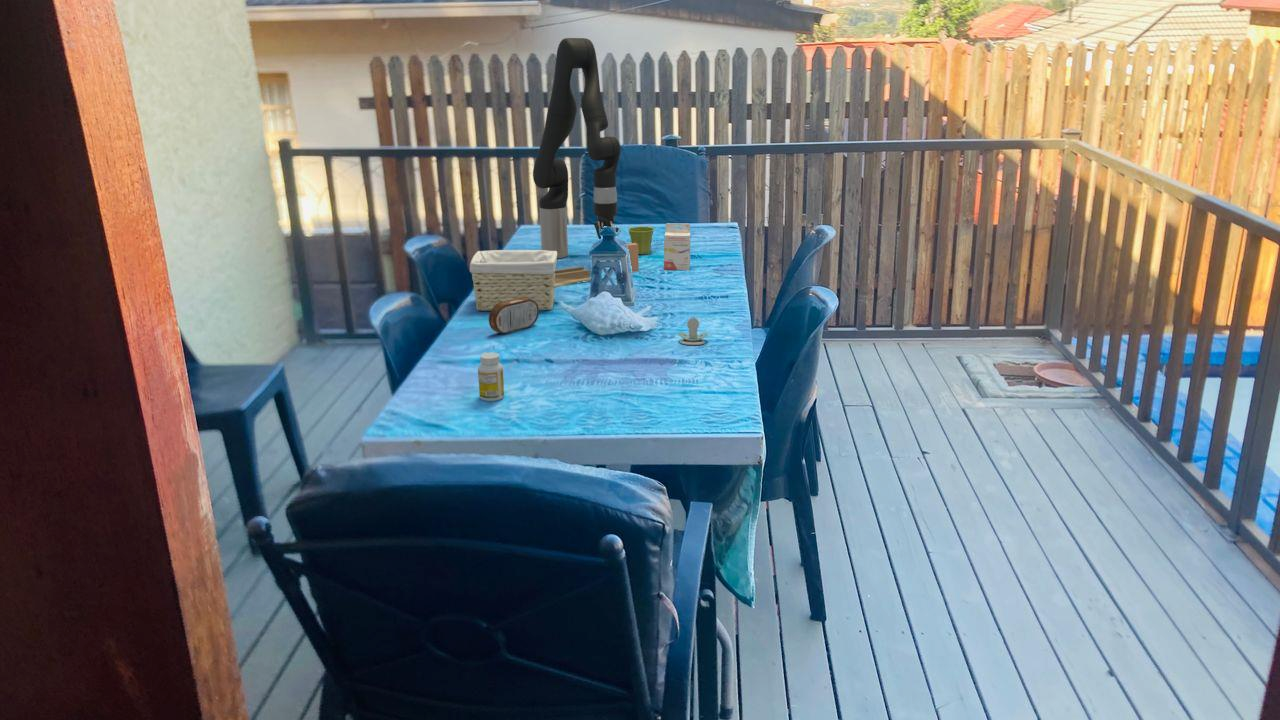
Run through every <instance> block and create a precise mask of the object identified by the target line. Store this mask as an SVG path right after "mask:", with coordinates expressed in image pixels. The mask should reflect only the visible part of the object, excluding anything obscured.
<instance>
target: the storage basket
mask: <svg viewBox="0 0 1280 720" xmlns="http://www.w3.org/2000/svg"><path fill="white" fill-rule="evenodd" d="M557 262H558V258H557V251H547V250H540V249H539V250H538V249H532V250H531V249H527V250H526V249H525V250H524V249H523V250H522V249H519V250H516V249H515V250H513V249H512V250H510V249H509V250H508V249H507V250H506V249H505V250H504V249H503V250H502V249H498V250H497V249H493V250H492V249H491V250H477V251H476V252H475V254H474V255H473V257H472V258H471V261H470V265H469V273H471V277H472V279H471V280H472V281H473V285H472V286H473V291H474V300H475V305H476V311H480V312H481V311H484V312H485V311H490V312H491V310H492V308H493V307H494V306H495V305H496V304H497V303H499V302H502V301H507V300H512V299H516V298H520V297H528V298H530V299H532V300H534V301H535V302H536V303H537V304H538V308H539V311H547V310H548V311H550V310H552V309H553V307H554V306H553V305H554V302H555V288H556V287H554V284H555V281H554V280H555V270H556V267H557Z"/></svg>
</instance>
